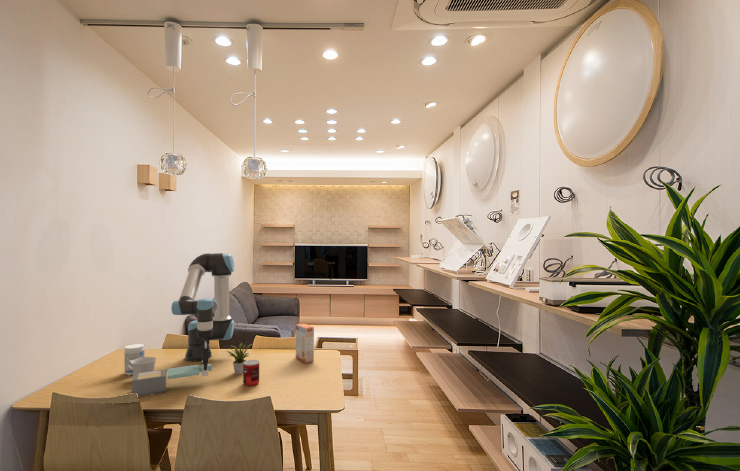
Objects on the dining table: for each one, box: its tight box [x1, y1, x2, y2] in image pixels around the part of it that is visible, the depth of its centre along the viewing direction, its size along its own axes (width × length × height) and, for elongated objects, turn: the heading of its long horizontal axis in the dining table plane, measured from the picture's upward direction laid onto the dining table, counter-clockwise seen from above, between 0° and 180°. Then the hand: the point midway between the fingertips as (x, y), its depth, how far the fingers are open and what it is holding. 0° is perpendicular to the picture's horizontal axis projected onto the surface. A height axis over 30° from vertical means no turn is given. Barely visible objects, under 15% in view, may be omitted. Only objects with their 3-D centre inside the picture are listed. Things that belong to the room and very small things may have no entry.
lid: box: [167, 363, 213, 380], centre depth 197 cm, size 20×12×2 cm, turn 116°
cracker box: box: [295, 322, 315, 364], centre depth 237 cm, size 14×6×21 cm, turn 34°
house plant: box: [226, 342, 253, 375], centre depth 216 cm, size 14×14×16 cm
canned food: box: [242, 359, 260, 387], centre depth 199 cm, size 8×8×11 cm
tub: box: [131, 368, 167, 398], centre depth 189 cm, size 14×11×8 cm
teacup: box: [127, 356, 158, 374], centre depth 205 cm, size 12×15×10 cm
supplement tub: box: [123, 343, 145, 376], centre depth 214 cm, size 10×10×15 cm
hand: (204, 374), depth 200 cm, fingers closed on lid, 4 cm apart
